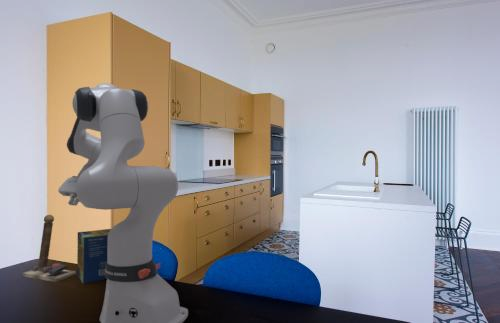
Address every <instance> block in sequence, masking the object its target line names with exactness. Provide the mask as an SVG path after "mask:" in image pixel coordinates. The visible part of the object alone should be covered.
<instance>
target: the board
mask: <svg viewBox="0 0 500 323" xmlns="http://www.w3.org/2000/svg"><path fill="white" fill-rule="evenodd" d="M37 268H38V265H35V266H32V269H31V270H28V271H24V272H22V276H21V277H24V278H30V279H36V280H42V281H48V282H53V283H57V282H60V281H63V280H66V279H69V278H71V277H74V276H76V275H77V271H75V270H69V269H65V270H63V271H61V272H59V273H57V274H55V275H53V274H49V272H48V271H49V270H51V269H52V266H47V268H44V269H43V270H38V269H37ZM75 274H76V275H75ZM73 275H74V276H73ZM70 276H71V277H70ZM68 277H69V278H68Z"/></svg>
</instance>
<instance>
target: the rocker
mask: <svg viewBox="0 0 500 323" xmlns="http://www.w3.org/2000/svg"><path fill="white" fill-rule="evenodd" d="M67 269H68V267H67V265H66V264H60V265H59V266H57V267H55V268H53V269H51V270H49V271H48V272H49V274H53V275H55V274H57V273H59V272H61V271H63V270H67Z"/></svg>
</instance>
